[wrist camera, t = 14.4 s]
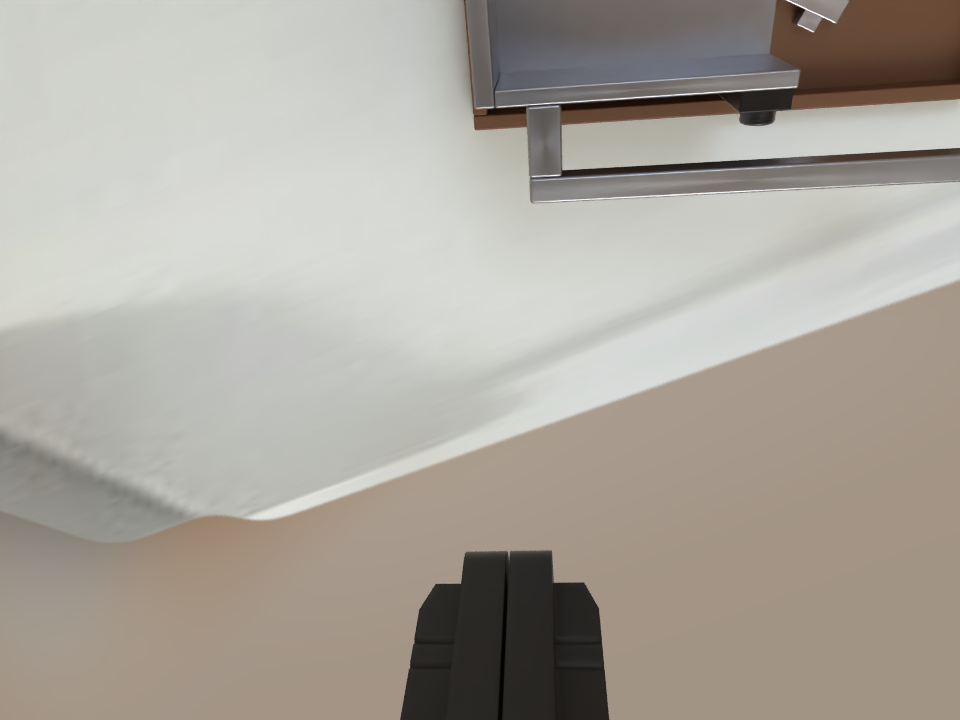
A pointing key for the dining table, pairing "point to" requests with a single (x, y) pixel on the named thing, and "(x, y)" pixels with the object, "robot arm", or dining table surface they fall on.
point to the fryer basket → (654, 91)
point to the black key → (817, 12)
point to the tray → (814, 65)
